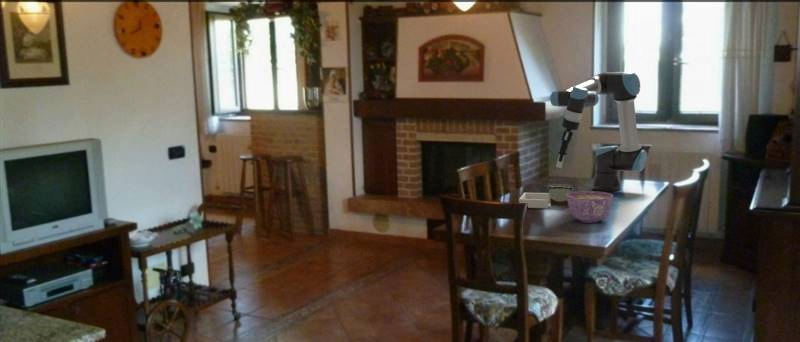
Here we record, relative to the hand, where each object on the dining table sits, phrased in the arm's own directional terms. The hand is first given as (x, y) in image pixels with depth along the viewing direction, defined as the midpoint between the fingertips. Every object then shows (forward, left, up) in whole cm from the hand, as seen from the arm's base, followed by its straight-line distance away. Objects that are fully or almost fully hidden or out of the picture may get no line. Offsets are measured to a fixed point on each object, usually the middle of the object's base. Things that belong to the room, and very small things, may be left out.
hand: (558, 167), depth 355 cm
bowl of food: (-16, +26, -20) cm, 36 cm away
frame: (+11, -8, -20) cm, 24 cm away
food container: (-1, -8, -20) cm, 21 cm away
